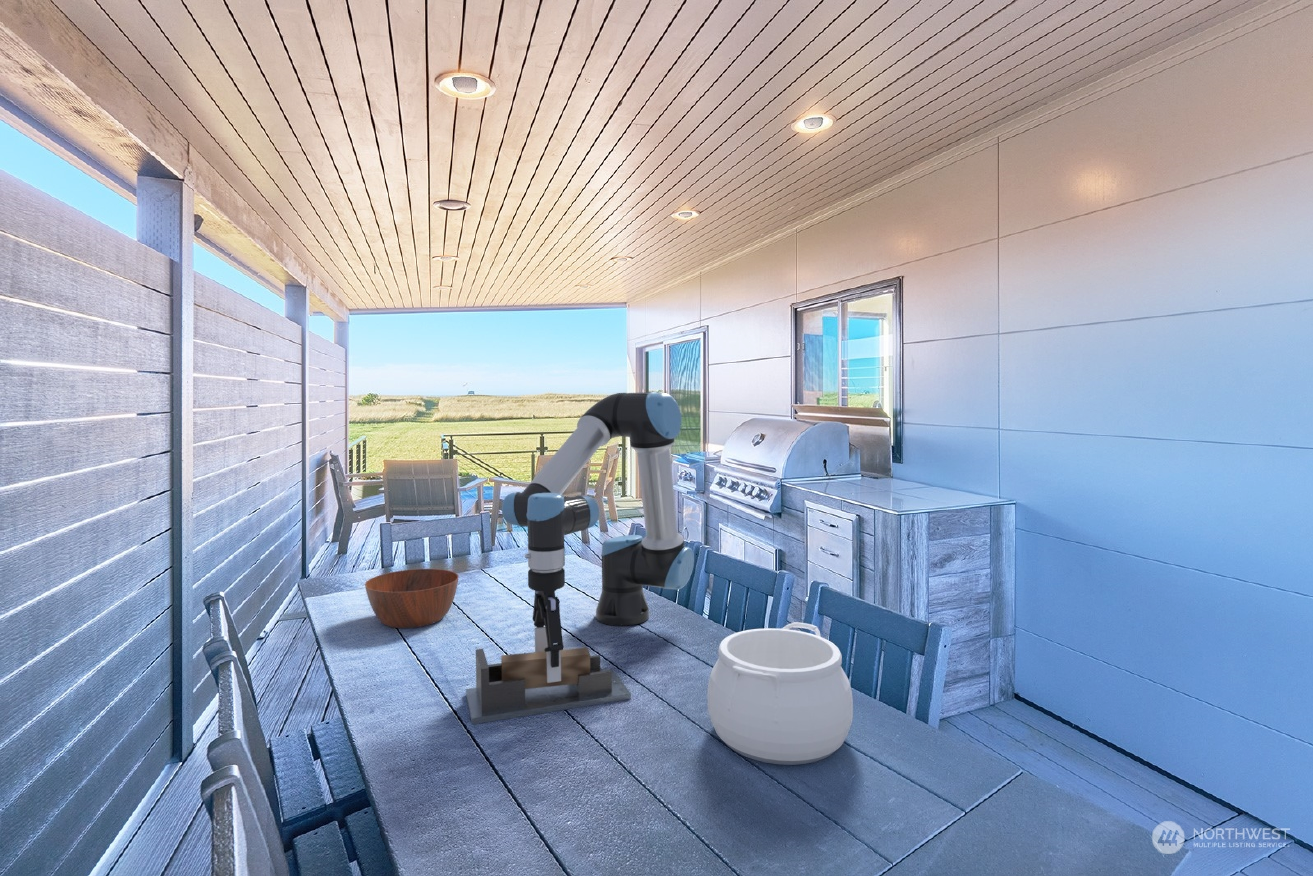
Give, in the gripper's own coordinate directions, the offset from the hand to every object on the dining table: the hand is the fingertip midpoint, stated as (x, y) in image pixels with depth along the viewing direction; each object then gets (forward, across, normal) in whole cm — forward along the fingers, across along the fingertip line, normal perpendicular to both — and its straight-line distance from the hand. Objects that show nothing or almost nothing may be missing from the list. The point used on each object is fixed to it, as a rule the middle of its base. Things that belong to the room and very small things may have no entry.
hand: (547, 668), depth 142 cm
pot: (+6, +31, +37) cm, 49 cm away
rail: (+3, 0, 0) cm, 3 cm away
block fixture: (+6, 0, 0) cm, 6 cm away
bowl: (+6, -63, -26) cm, 68 cm away
